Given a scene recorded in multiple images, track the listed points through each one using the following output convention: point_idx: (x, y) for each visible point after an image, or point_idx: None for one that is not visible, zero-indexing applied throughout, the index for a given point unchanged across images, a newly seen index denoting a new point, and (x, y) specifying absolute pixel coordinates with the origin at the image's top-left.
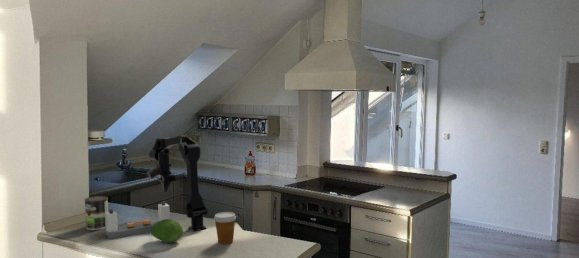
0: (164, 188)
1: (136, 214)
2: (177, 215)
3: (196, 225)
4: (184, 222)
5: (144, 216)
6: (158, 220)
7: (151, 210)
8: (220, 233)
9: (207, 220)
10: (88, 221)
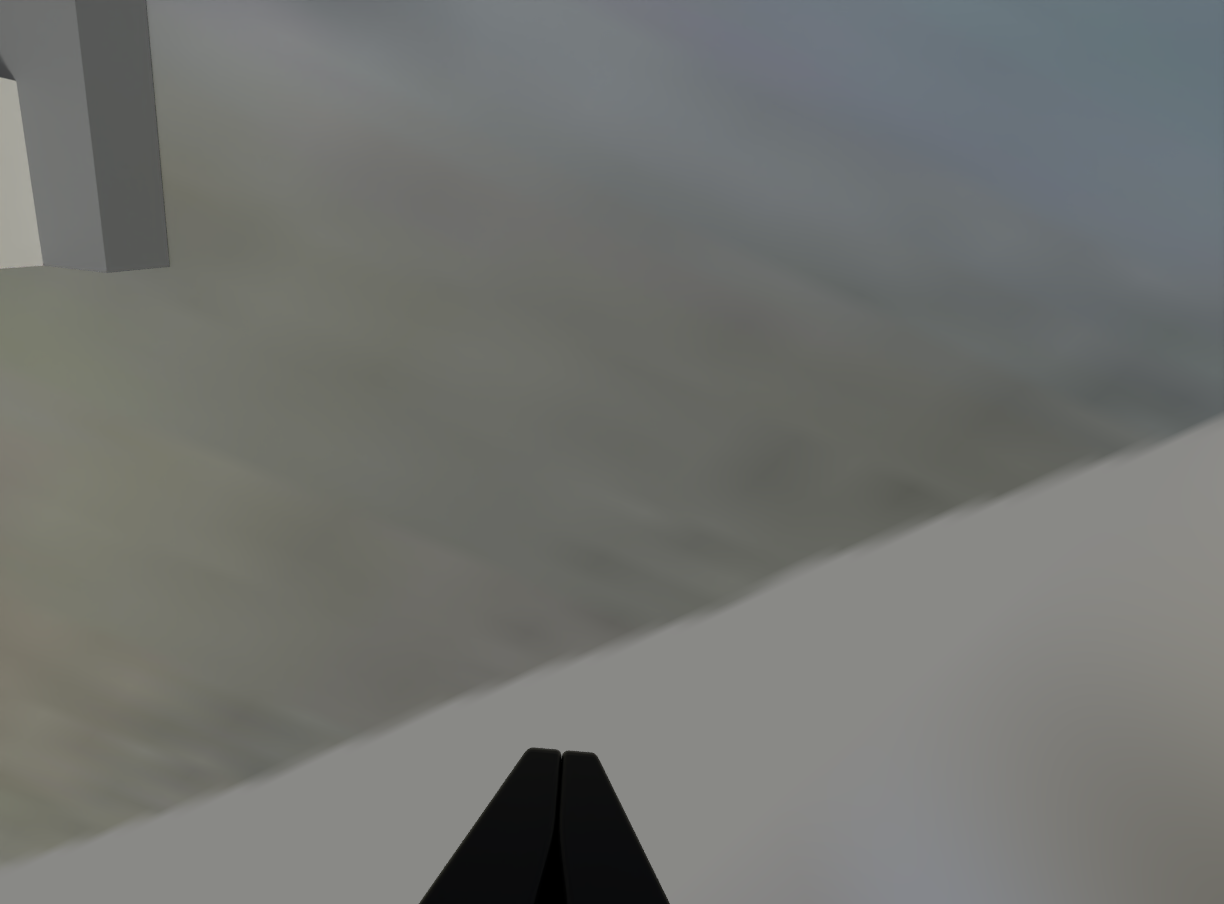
0: (434, 890)
1: (1139, 74)
2: (532, 602)
3: None
4: (89, 524)
5: (881, 146)
6: (41, 87)
7: (1137, 414)
8: None
9: (30, 784)
10: None
